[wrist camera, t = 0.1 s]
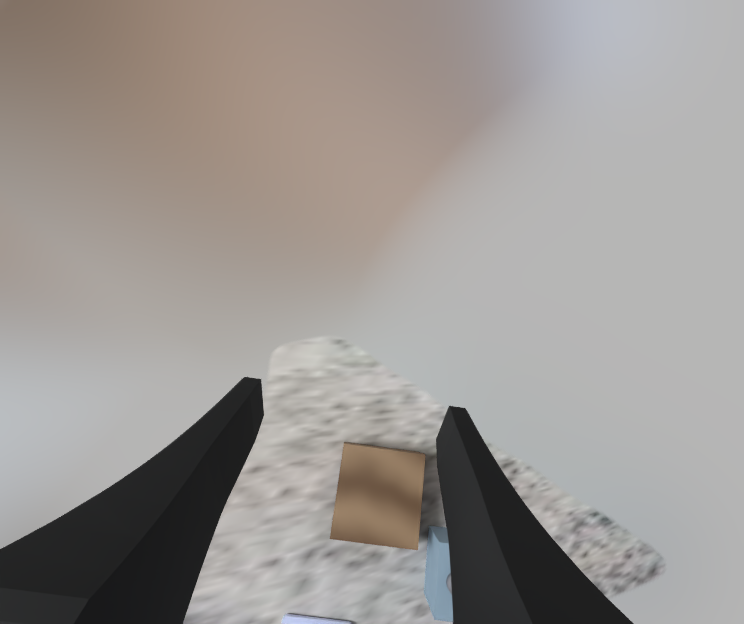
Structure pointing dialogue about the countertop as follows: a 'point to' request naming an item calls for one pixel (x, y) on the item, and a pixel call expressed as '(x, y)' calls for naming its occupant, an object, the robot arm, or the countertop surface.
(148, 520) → the robot arm
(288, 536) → the countertop surface
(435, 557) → the housing
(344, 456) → the stand
